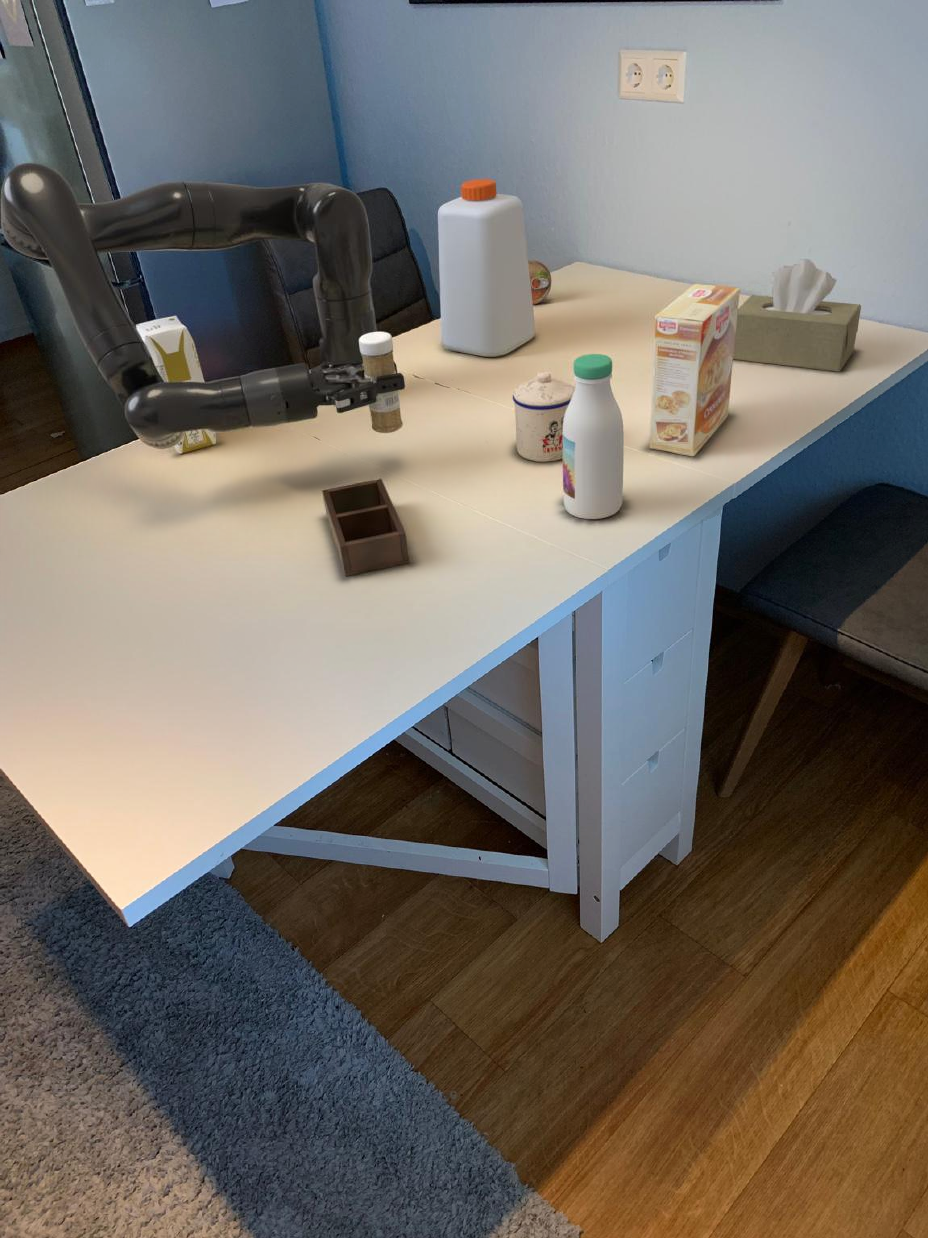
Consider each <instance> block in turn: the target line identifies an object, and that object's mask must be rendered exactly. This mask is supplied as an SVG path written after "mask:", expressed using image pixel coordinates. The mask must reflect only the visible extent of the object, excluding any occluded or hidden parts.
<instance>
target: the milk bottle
mask: <svg viewBox="0 0 928 1238" xmlns="http://www.w3.org/2000/svg"><path fill="white" fill-rule="evenodd" d="M612 373H613V360H612V358H611V357H610V356H608V355H606V354H601V353H589V354H583V355H580V356H578V357H576V359H574V361H573V379H574V381H575V386H574V388H575V390H574V393H573V396H572V399H571V401H570V403H569V405H568V407H567V410H566V413H565V416H564V421H563V436H562V451H563V459H562V498H563V506H564V509H565V510H566V512H567V513H569V514H570V515H571V516H574V517H576V518H580V519H586V520H598V519H599V520H600V519H606V518H608V517H611V516H613V515H615V514H616V513H618V512H619V511H620V509H621V507H622V505H623V495H624V452H625V451H624V446H625V445H624V444H625V443H624V440H625V438H624V437H625V435H624V419H623V415H622V411H621V408H620V405H619V403H618V401H617V399H616V398H615V395H614V393H613V389H612V385H611V379H612V378H613V374H612Z"/></svg>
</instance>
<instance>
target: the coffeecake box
mask: <svg viewBox="0 0 928 1238" xmlns="http://www.w3.org/2000/svg"><path fill="white" fill-rule="evenodd" d="M740 293H741V288H740V287H735V286H728V285H714V284H713V285H712V284H703V283H694V284H692V286H690V287H689V288H688V289H687V290H685V291H684V292H682V293H681V295H679V296H678V297H676V298H675V300H673V301H671V302H670V303H669V304H668V305H667V306H666V307H664V308H663V309H662V310H660V312H658V313H656V315H655V316H654V318H655V324H654V327H655V328H654V346H653V347H654V348H653V369H652V371H653V372H652V392H651V414H650V415H651V416H650V434H649V435H650V436H649V437H650V438H649V449H652V450H656V451H657V450H658V451H664V452H669V453H673V454H678V455H683V456H687V457H688V456H689V457H695V456H696V455H697V453H699V451H700V450H701V449H702V448H703V446H704V445H705V444H706V443H707V442H708V441H709V439H710V438H711V437H712V436H713V435H714V434H715V432H716V431H717V430H718V428H719V427H721V425H722V424H723V423H724V421H726V419H727V418H728V417H729V407H730V395H731V387H732V386H731V385H732V376H733V375H732V374H733V364H734V362H733V361H734V359H733V354H734V344H735V334H736V324H737V314H738V309H739V304H740V303H739V301H740Z"/></svg>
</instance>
